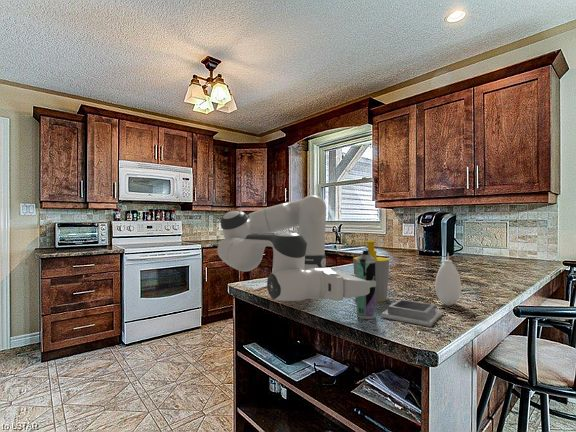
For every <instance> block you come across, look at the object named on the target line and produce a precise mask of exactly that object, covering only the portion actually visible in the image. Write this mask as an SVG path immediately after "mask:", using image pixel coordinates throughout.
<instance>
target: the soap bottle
mask: <svg viewBox="0 0 576 432" xmlns="http://www.w3.org/2000/svg"><path fill="white" fill-rule="evenodd" d="M361 244H367V250H369V253H370V254H371V256H372V257H373V258H375V281H376V287H375V303H378V302H384V301H387V299H388V288H389V287H388V286H389V285H388V284H389V271H390V269H389V268H390V258H387V257H383V256H382V257H380V256H377V250H375V244H377V241H375V240H366V241H362V242H361ZM359 257H360V256H354V257H353V258H352V261H353V275H354V274H355V275H357V260H358V259H357V258H359ZM355 299H357V297H355Z"/></svg>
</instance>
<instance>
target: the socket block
mask: <svg viewBox="0 0 576 432" xmlns="http://www.w3.org/2000/svg"><path fill="white" fill-rule="evenodd" d="M436 306H437V305H436V304H435V303H429V302H428V303H427V302H423V301H422V302H420V301H415V300H407V299H401V298H399V299H397V300H396V301H394V302H392V303H391V304H389V305H388V306H387V309H385V310H384V311H382V312H381V313H380V317H381V318H384V319H389V320H395V321H399V322H403V323H404V322H405V323H408V324H409V323H410V324H414V325H419V326H420V325H421V326H425V327H432V326H433V325H434V324H435V323H436V321H438V320H439V319H440V318H441V317H442V315H443V310H439V309H437V307H436Z"/></svg>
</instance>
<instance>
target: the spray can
mask: <svg viewBox="0 0 576 432" xmlns="http://www.w3.org/2000/svg"><path fill="white" fill-rule="evenodd" d="M358 257H359V258H357V259H358V260H357V277H358V278H361V279H364V280H367V281H368V280H374V281H375V258H373V257H372V256H371V254H370V253H369V250H368V249H366V250H363V251H362V253H361V255H360V256H358ZM356 317H357V318H359V319H364V320H372V319H373V320H374V319H375V318H376V302H375V287H371V288H370V293H369V294H368V295H365V296H359V297H357V298H356Z"/></svg>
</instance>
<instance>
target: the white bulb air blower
mask: <svg viewBox="0 0 576 432" xmlns="http://www.w3.org/2000/svg"><path fill="white" fill-rule="evenodd" d="M446 257H447V258H446V259H444V260H443V263H442V264H441V265H440V267H439V269H438V271H437V274H436V276H435V277H436V278H435V285H434V288H435V293H436V296H437V298H438V300H439V301H440V302H441V303H442V304H444V305H445V306H452V305H454V304H455V303H456V302H458V300H459V299H460V296H461V293H462V282H461V277H460V274H459V272H458V270H457V267H456V266H455V264H454V263H453V260H451V259H450V254H449V252H447V256H446Z"/></svg>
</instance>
